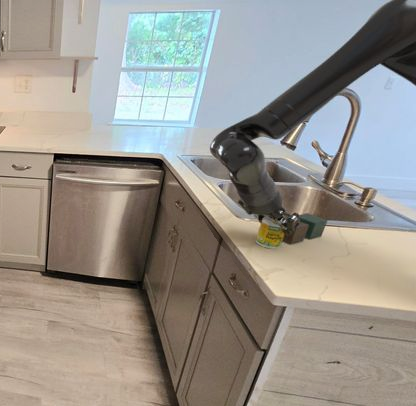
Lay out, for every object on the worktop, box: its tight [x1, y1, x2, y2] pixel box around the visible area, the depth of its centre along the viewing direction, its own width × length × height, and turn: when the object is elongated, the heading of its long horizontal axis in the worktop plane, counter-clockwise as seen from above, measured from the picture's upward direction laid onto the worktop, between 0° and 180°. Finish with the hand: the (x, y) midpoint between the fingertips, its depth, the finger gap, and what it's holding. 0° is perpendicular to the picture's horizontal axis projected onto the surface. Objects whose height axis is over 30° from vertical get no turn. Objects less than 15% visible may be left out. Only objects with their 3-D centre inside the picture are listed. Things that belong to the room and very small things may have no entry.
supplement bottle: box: [255, 217, 285, 250], centre depth 96 cm, size 5×5×10 cm
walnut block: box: [282, 222, 309, 246], centre depth 99 cm, size 5×5×5 cm
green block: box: [299, 212, 329, 240], centre depth 101 cm, size 5×5×5 cm
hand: (277, 227), depth 97 cm, fingers closed on supplement bottle, 5 cm apart
